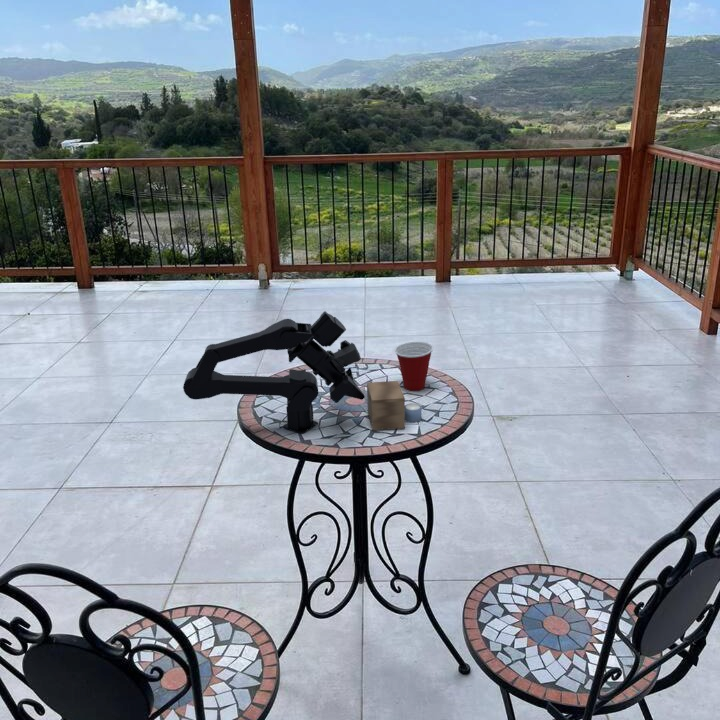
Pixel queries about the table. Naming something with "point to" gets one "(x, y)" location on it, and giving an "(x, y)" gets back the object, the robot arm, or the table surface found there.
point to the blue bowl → (413, 412)
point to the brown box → (385, 405)
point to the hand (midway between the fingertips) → (363, 397)
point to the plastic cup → (414, 363)
